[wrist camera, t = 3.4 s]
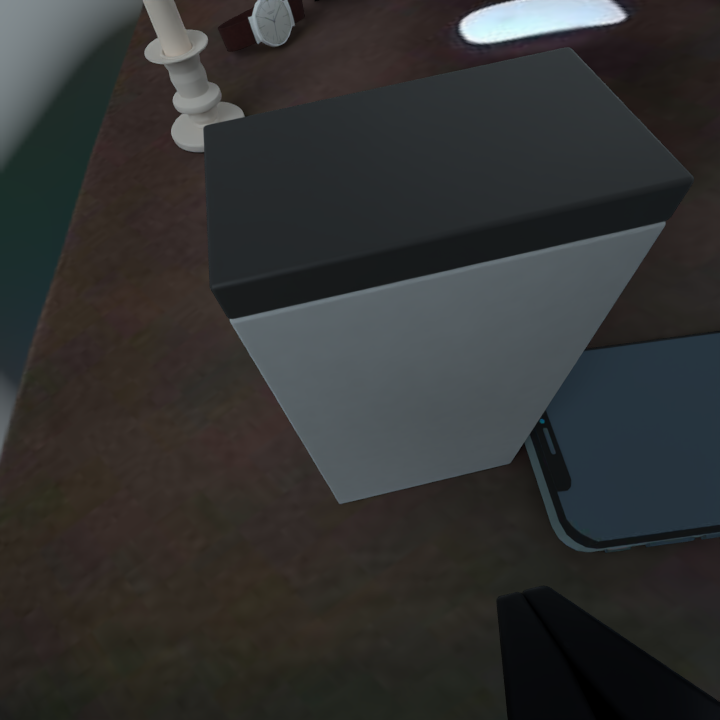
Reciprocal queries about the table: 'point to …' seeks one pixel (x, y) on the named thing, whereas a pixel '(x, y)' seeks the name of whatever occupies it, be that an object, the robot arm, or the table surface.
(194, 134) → the candle
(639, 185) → the box with lid
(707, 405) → the smartphone
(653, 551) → the table surface
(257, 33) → the watch
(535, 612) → the robot arm
